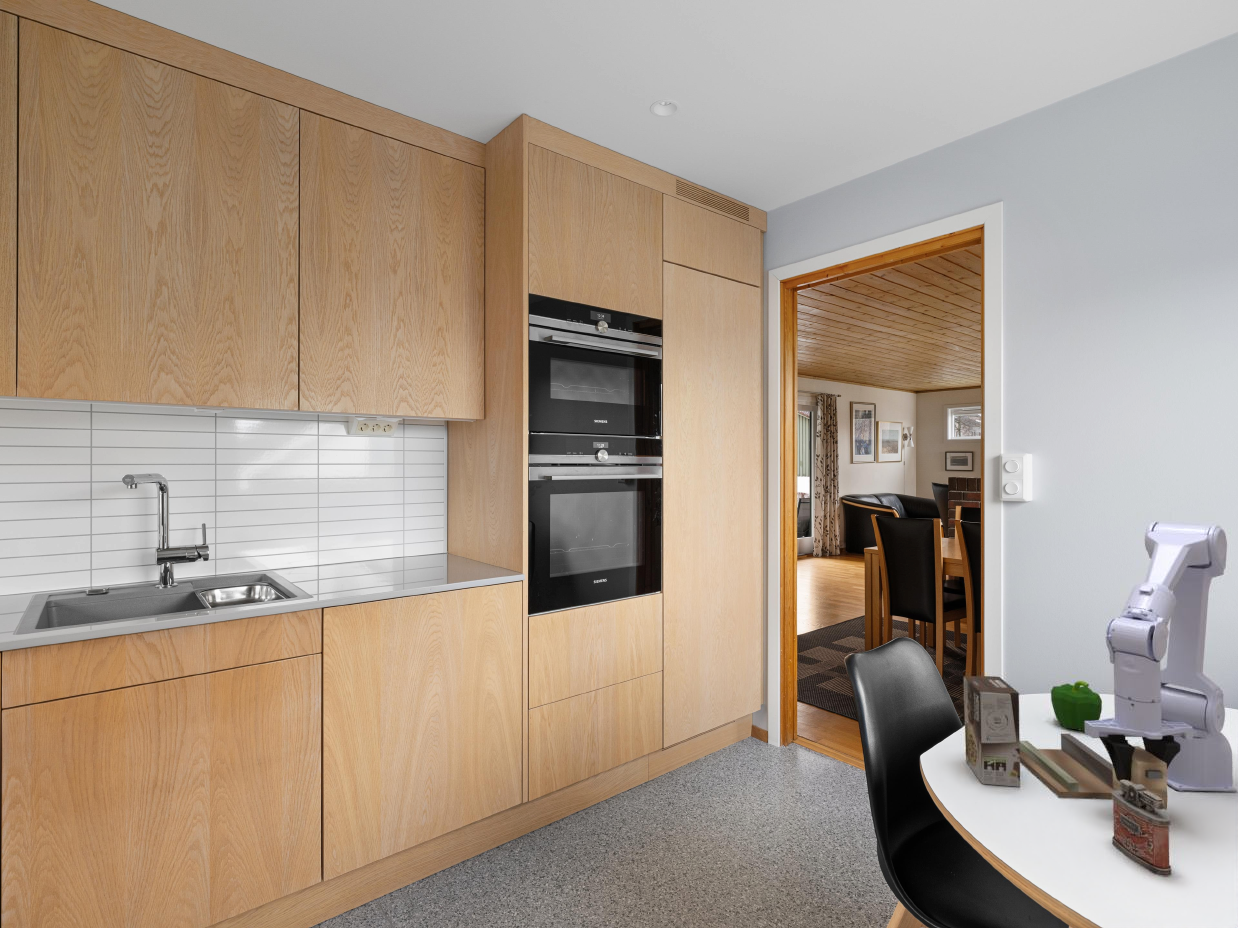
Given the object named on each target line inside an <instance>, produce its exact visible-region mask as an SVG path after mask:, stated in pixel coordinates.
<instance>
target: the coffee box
mask: <svg viewBox="0 0 1238 928" xmlns="http://www.w3.org/2000/svg"><path fill="white" fill-rule="evenodd" d="M963 706H964V707H963V708H964V734H965V735H964V738H965V762H966V764H967V765H968V766H969V768H970V769H971V770H972V771H973V773H974V775H975V776H976V777H977V779H978V780H979V781H980V783H981V784H984V785H994V786H1005V787H1006V786H1007V787H1018V788H1019V787H1021V762H1020V741H1021V738H1020V693H1019V692H1018V690H1016V689H1015V688H1013V686H1011V685H1010V684H1009V683H1008V682H1006V681H1005V680H1004V679H1003V678H1001V676H993V675H992V676H990V675H989V676H988V675H976V676H975V675H973V676H970V675H968V676H967V675H963Z"/></svg>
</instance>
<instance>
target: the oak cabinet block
mask: <svg viewBox="0 0 1238 928" xmlns="http://www.w3.org/2000/svg"><path fill="white" fill-rule="evenodd" d="M1132 746H1133V747H1135V750H1134V753H1133V756H1132V761H1131V781H1130V782H1131V783H1133V784H1135V785H1137V784H1141V785H1143V786H1144V787H1145V788H1146V790H1147V791H1149V792H1151V793H1152V794H1154V795H1156V796H1158V797H1159V798H1161V799H1162V800H1163V801H1164V809H1160V810H1161V811H1162V810H1163V811H1164V810H1165V811H1167V810H1168V784H1167V764H1166V763H1165V762H1163V761H1162V760H1160V759H1159V758H1157V757H1155V756H1154V755H1152V754H1151V753H1149V752H1148V751H1146V750H1145V748H1143V747H1141V746H1139V745H1132ZM1113 789H1114V790H1120V791H1121V787H1120V781H1118V780H1117V778H1116V774H1115V770H1114V767H1113Z"/></svg>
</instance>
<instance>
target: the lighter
mask: <svg viewBox="0 0 1238 928" xmlns="http://www.w3.org/2000/svg"><path fill="white" fill-rule="evenodd" d="M1120 787H1121V791H1120V790H1115V791H1112V799H1111V800H1112V803H1113V806H1112V807H1113V810H1112V811H1113V836H1112V838H1111V841H1112V842H1111V843H1112V845H1113V847H1115V848H1116V849H1117V850H1118V851H1119V852H1120V853H1122V855H1124V856H1126V857H1127V859H1129V860H1131V861H1132V862H1134V863H1135V864H1137V865H1138V866H1140V867H1141V868H1143V869H1145V870H1147V871H1149V872H1150V873H1152V874H1154V875H1156V876H1157V875H1158V876H1160V877H1161V876H1162V877H1170V876H1172V865H1171V864H1170V834H1169V833H1170V831H1169V829H1170V826H1171V817H1170V816H1169V815H1168V814H1166V813H1165V812H1164V811H1162V810H1160V809H1164V801H1163V800H1162V799H1161V798H1159V797H1158V796H1156V795H1154V794H1152V793H1151V792H1149V791H1147V790H1146V788H1145V787H1144V786H1143V785H1141V784H1137V785H1135V784H1133V783H1131V782H1130V781H1128V780H1120Z"/></svg>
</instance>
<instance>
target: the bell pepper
mask: <svg viewBox="0 0 1238 928" xmlns="http://www.w3.org/2000/svg"><path fill="white" fill-rule="evenodd" d="M1050 701H1051V705H1052V709H1053V713H1054V715H1055V718H1056V720H1057V722H1058V723H1059V724H1060V725H1061V726H1062V727H1064V728H1065V729H1071V730H1077V731H1082V732H1085V721H1096V720H1101V719H1100V717H1101V714H1102V709H1103V701H1102V698H1101V695H1100V694H1099V693H1098V692H1095V691H1093V690H1092V689H1091V688H1090V684H1089V683H1087V682H1086V681H1083V680H1077V681H1075V682H1074V685H1072V684H1070V683H1065V684H1061V685H1060V686H1059V685H1058V686H1057V685H1056V686H1052V689H1051V690H1050Z"/></svg>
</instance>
